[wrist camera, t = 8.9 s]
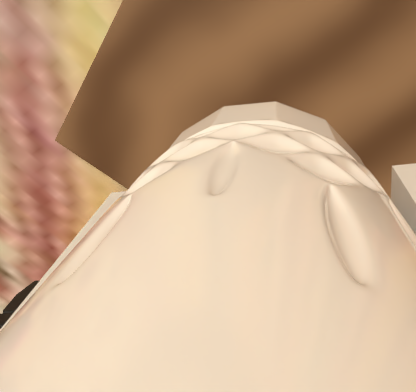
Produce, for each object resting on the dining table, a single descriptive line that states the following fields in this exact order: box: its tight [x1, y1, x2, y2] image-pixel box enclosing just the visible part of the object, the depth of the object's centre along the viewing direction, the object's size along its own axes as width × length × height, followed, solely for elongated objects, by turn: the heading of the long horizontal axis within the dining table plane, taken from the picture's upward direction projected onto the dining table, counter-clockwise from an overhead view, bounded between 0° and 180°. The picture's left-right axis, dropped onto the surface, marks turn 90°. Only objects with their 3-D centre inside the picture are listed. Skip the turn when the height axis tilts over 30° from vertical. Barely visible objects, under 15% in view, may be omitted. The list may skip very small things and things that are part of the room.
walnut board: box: [55, 0, 416, 199], centre depth 22 cm, size 20×20×1 cm
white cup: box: [0, 101, 416, 392], centre depth 8 cm, size 8×8×10 cm
